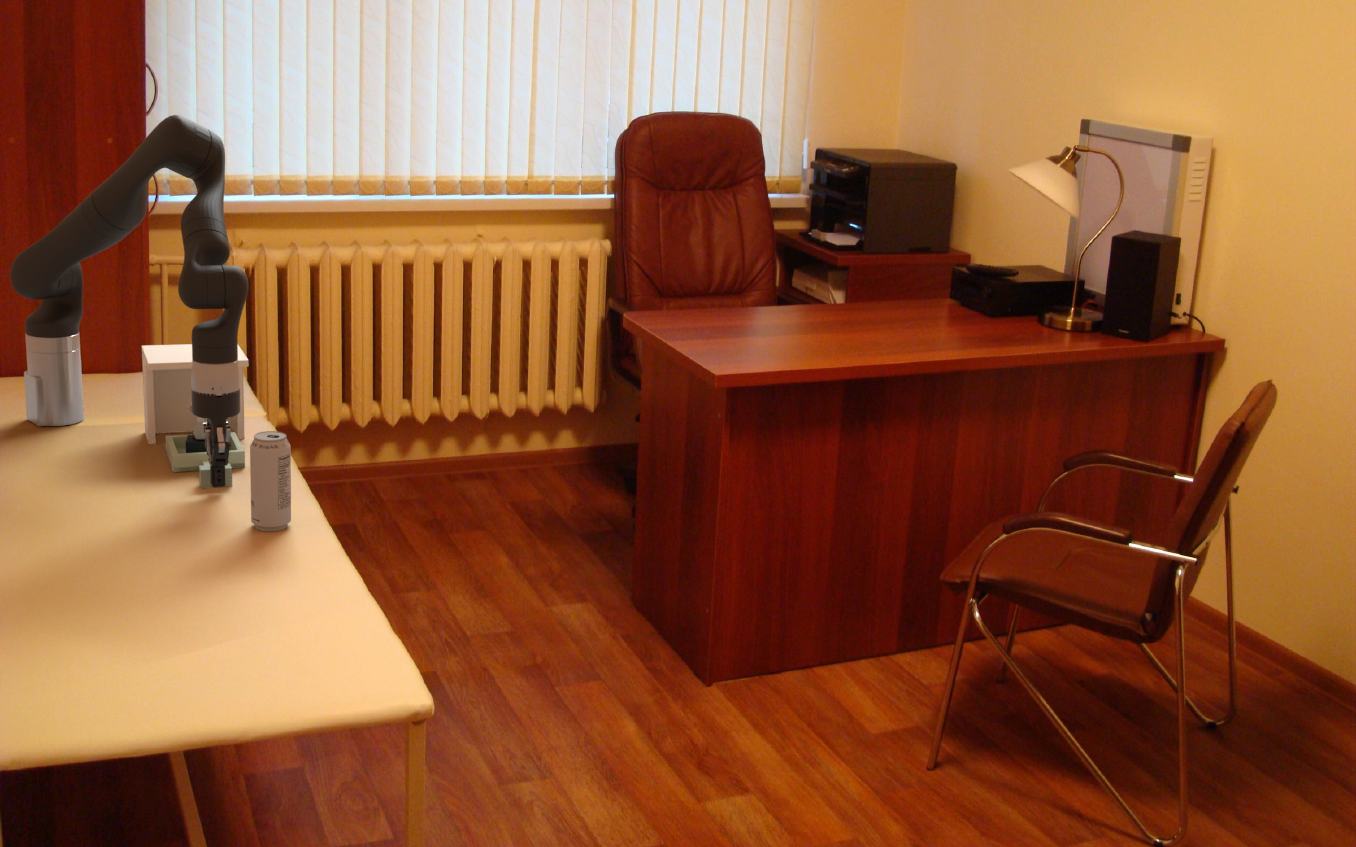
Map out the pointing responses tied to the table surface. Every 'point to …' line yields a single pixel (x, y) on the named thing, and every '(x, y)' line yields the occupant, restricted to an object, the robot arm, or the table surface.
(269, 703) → the table surface
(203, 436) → the watch
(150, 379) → the white side table
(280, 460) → the energy drink can
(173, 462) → the tray
